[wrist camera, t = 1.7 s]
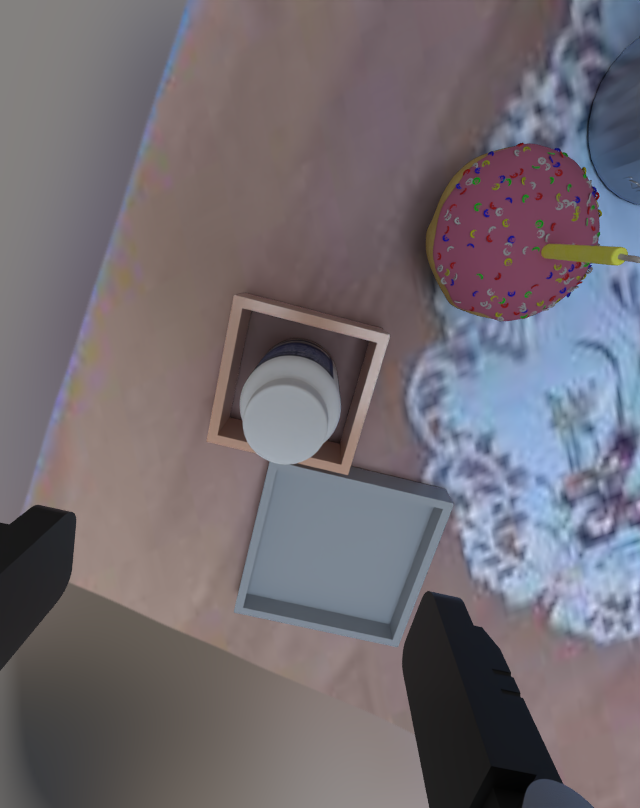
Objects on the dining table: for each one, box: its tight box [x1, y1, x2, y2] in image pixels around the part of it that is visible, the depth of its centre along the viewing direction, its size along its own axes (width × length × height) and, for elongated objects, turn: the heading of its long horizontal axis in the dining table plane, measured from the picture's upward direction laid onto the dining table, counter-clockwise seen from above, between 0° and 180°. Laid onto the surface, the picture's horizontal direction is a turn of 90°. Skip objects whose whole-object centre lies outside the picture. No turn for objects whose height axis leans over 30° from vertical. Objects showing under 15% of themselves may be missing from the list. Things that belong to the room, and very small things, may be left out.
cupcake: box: [426, 143, 640, 321], centre depth 20 cm, size 9×8×12 cm
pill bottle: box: [240, 339, 341, 465], centre depth 24 cm, size 5×5×10 cm
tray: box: [234, 462, 454, 647], centre depth 31 cm, size 13×13×2 cm
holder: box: [206, 293, 390, 475], centre depth 27 cm, size 9×9×4 cm
